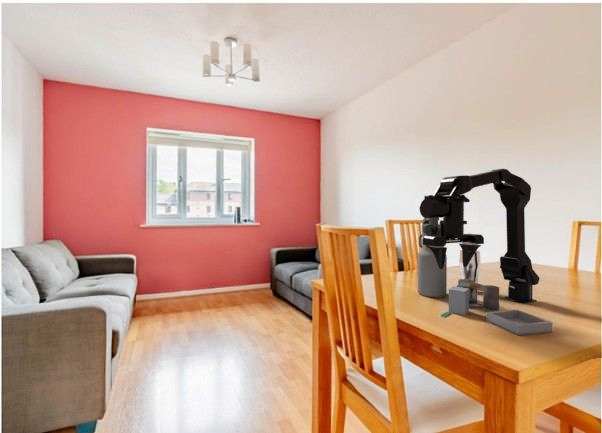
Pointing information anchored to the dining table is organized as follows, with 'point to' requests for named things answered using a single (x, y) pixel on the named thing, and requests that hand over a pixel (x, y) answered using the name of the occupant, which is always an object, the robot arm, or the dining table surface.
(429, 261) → the water bottle
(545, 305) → the dining table surface
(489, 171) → the robot arm
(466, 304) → the block
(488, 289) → the crank arm
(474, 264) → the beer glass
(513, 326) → the tray
